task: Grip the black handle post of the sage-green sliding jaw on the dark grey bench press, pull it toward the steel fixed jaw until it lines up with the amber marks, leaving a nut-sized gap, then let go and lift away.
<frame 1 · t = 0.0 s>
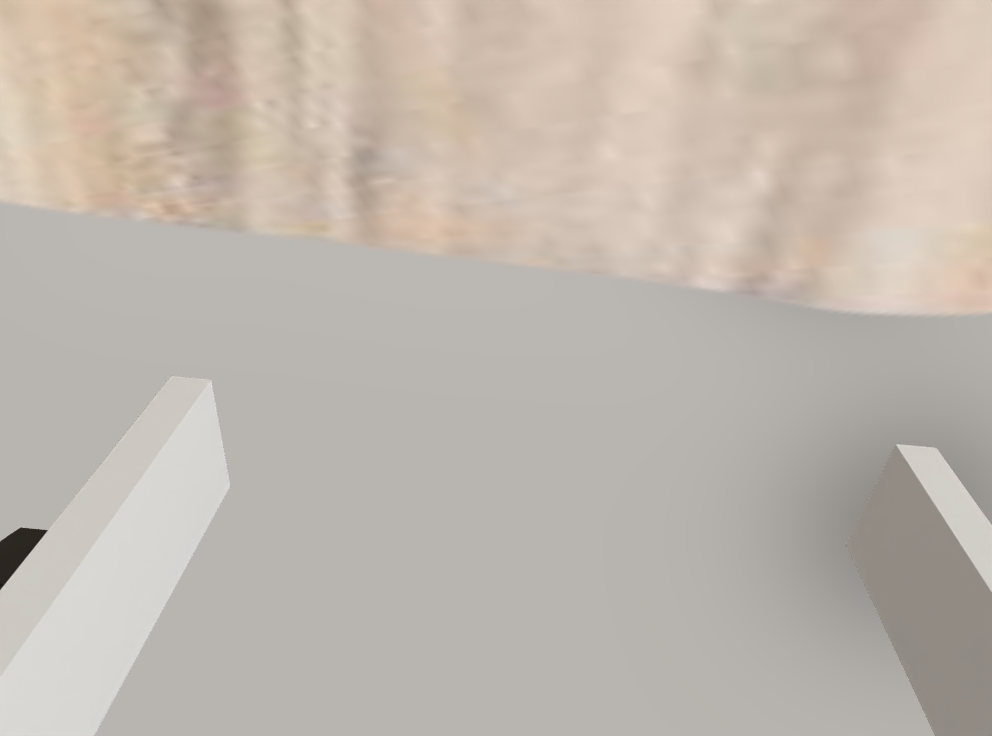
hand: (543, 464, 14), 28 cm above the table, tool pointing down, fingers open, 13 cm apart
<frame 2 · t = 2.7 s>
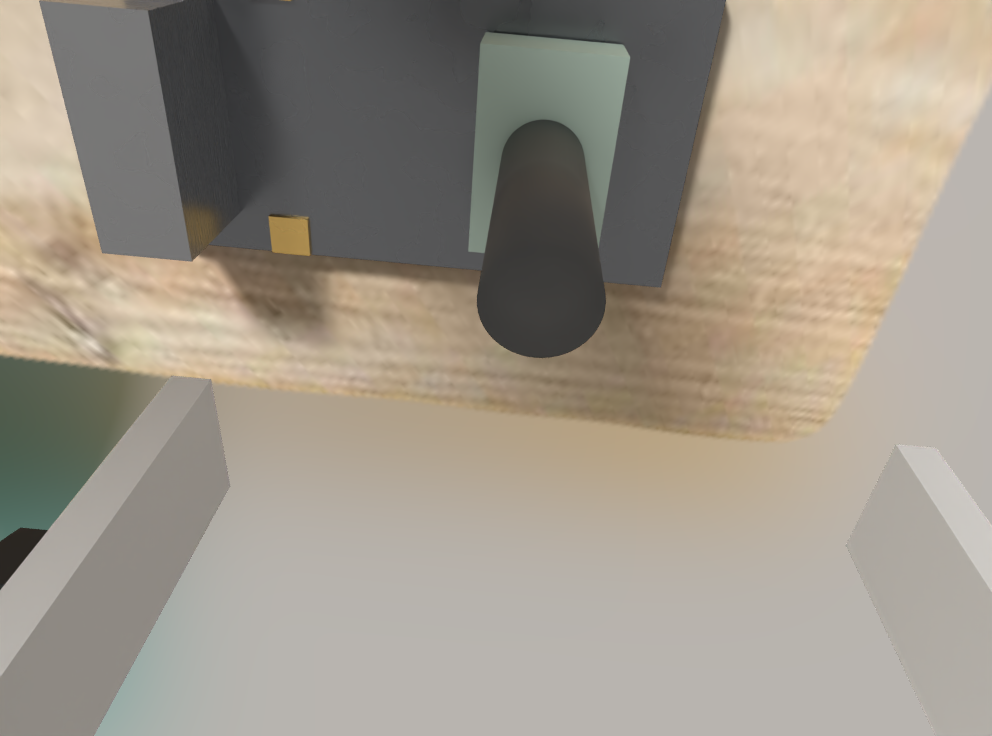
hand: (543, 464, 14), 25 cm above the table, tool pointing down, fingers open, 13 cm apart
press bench: (421, 121, 35), on the table
sliding jaw: (542, 202, 27), point 10 cm above the table, slide at 0.0 cm
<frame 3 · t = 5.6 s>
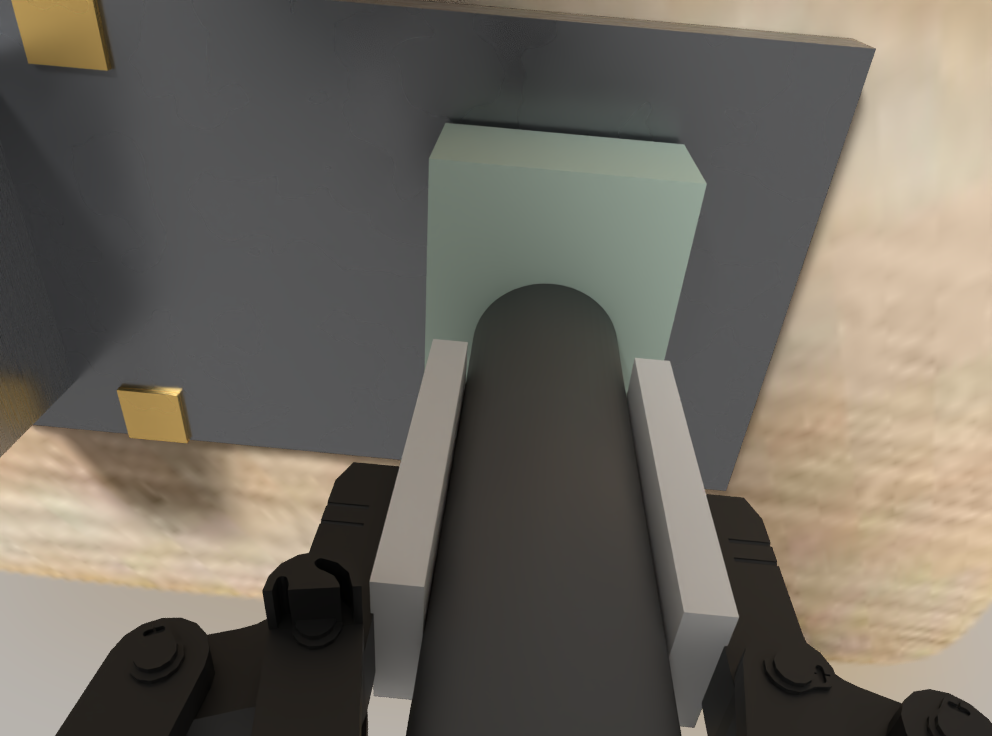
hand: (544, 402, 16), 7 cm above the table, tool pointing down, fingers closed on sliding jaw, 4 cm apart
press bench: (350, 248, 22), on the table
sliding jaw: (543, 485, 14), point 10 cm above the table, slide at 0.0 cm, touching gripper
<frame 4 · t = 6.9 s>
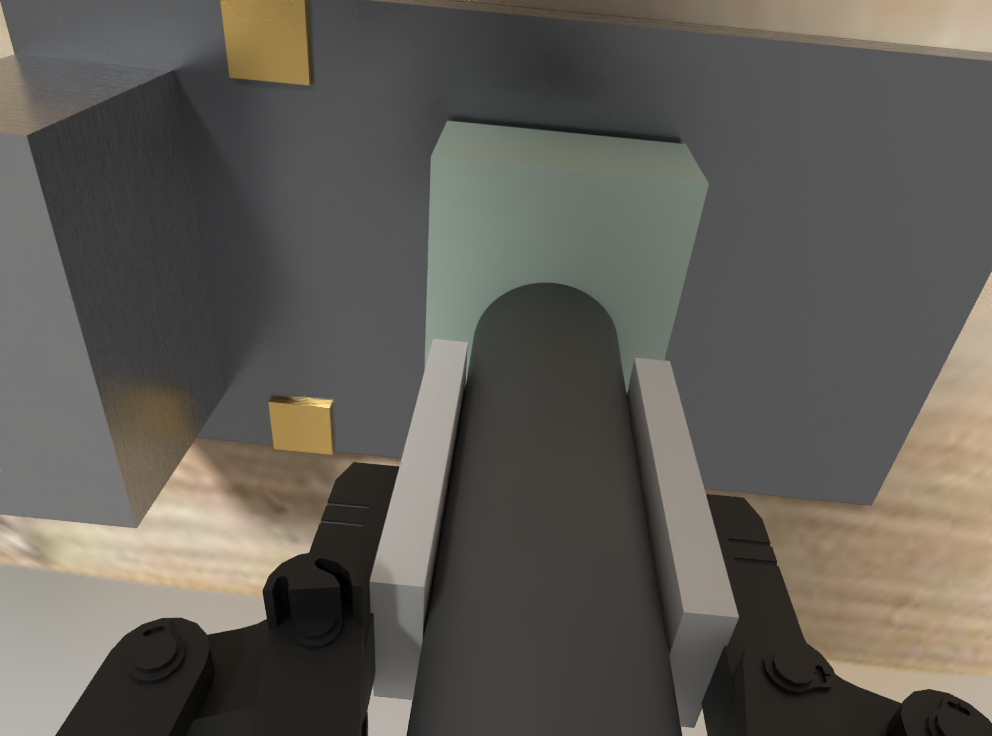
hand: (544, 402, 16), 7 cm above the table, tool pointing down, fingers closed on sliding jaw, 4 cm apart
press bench: (513, 262, 22), on the table
sliding jaw: (544, 484, 14), point 10 cm above the table, slide at 5.0 cm, touching gripper
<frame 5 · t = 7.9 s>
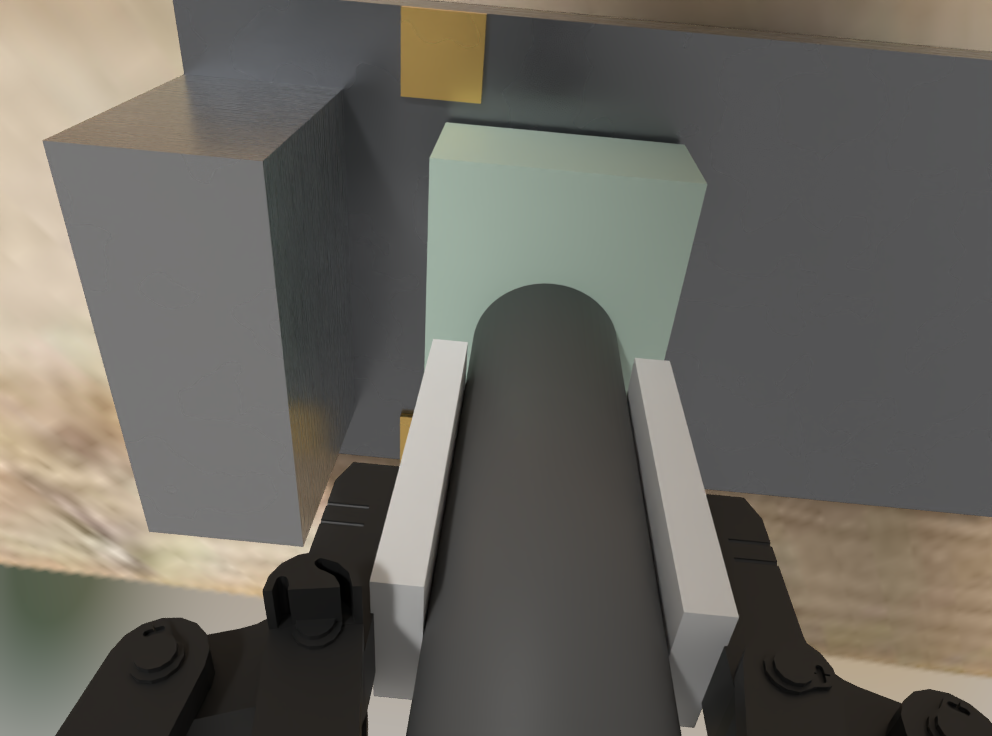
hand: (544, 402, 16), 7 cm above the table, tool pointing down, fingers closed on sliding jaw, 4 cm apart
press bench: (653, 276, 22), on the table
sliding jaw: (543, 485, 14), point 10 cm above the table, slide at 9.3 cm, touching gripper
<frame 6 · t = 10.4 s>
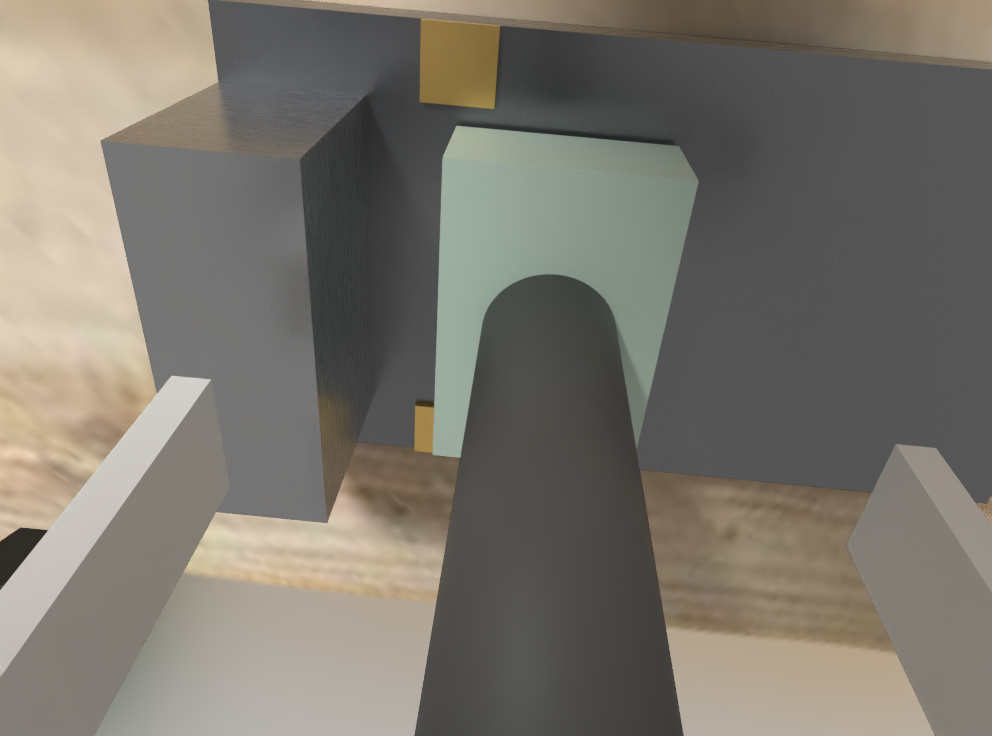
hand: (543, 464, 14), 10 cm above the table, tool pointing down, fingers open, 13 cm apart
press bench: (655, 272, 23), on the table
sliding jaw: (548, 455, 15), point 10 cm above the table, slide at 9.5 cm
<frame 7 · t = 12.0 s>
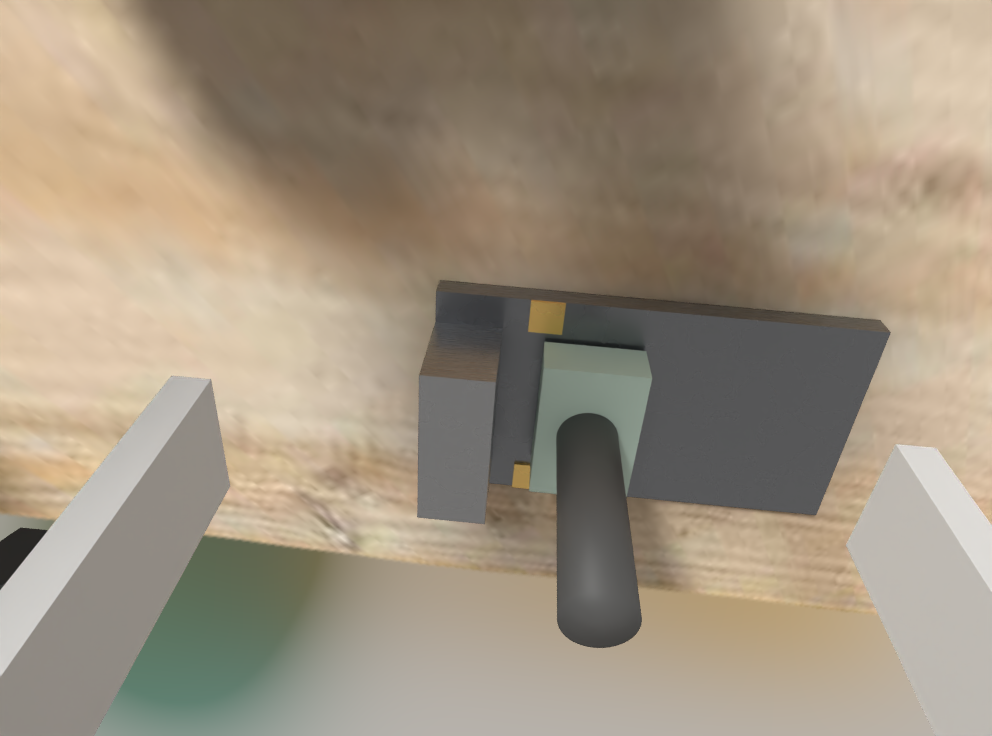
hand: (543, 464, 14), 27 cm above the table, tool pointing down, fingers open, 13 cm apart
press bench: (638, 398, 46), on the table
sliding jaw: (590, 495, 37), point 10 cm above the table, slide at 9.5 cm
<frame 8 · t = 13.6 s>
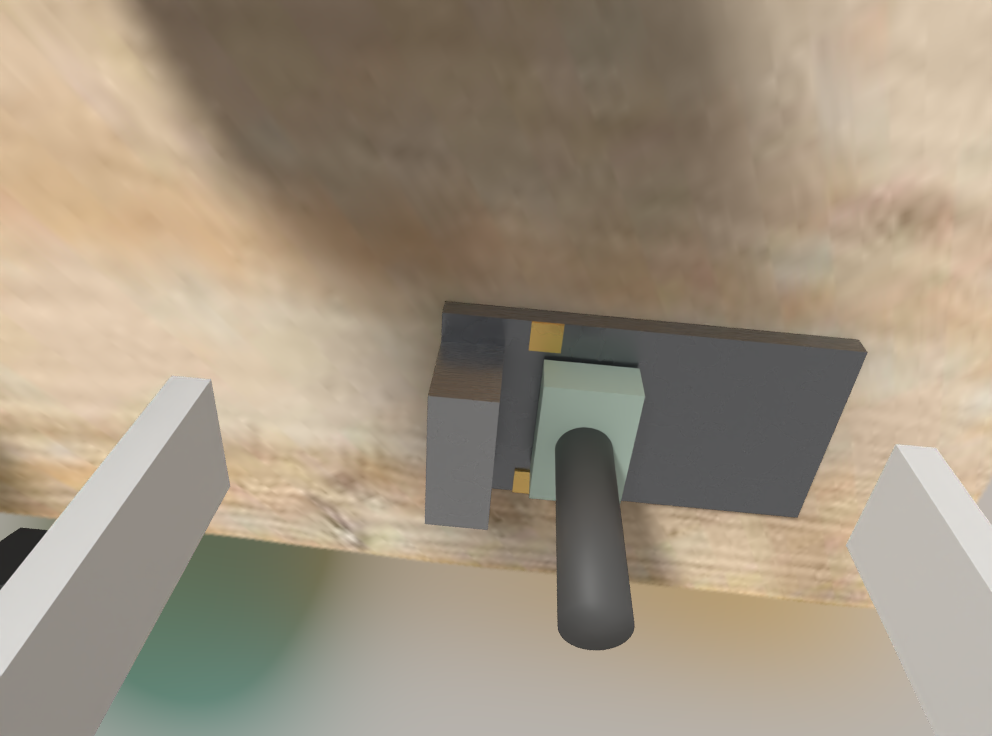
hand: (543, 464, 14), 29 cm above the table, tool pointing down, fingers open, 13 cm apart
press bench: (631, 409, 48), on the table
sliding jaw: (587, 506, 40), point 10 cm above the table, slide at 9.5 cm
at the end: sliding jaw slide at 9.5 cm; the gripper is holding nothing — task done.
